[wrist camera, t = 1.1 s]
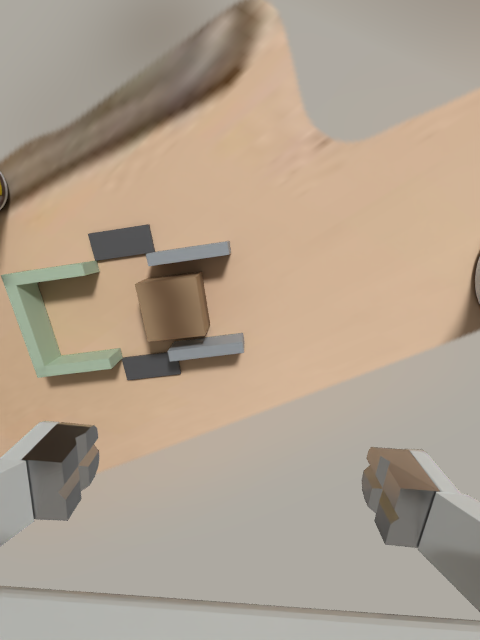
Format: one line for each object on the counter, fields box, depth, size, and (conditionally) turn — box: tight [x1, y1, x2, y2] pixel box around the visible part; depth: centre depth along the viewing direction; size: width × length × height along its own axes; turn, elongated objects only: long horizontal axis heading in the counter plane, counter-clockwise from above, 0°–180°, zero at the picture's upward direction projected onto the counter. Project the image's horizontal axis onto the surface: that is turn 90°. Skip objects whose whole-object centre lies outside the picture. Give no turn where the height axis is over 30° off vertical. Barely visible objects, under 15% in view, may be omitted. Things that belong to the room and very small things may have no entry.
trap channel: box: [1, 225, 244, 380], centre depth 32 cm, size 23×17×3 cm
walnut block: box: [135, 272, 210, 342], centre depth 32 cm, size 6×6×4 cm
